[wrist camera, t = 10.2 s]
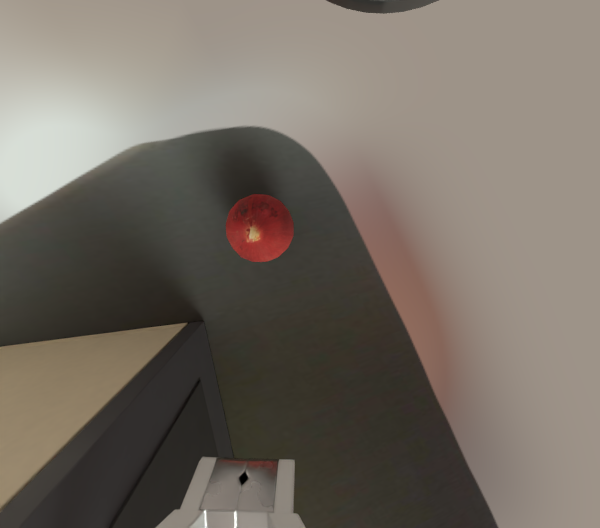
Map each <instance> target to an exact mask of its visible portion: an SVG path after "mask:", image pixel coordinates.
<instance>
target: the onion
mask: <svg viewBox="0 0 600 528" xmlns="http://www.w3.org/2000/svg"><path fill="white" fill-rule="evenodd" d="M293 224H294V223H293V220H292V218H291V215H290V213H289V211H288V209H287V208H286V207H285V206H284V205H283V203H282V202H281V201H279V200H277V199H275V198H273V197H271V196H269V195H262V194H253V195H250V196H248V197H245V198H243V199H240V200H239V201H238V202H237V203H236V204H235V205H234V206H233V208H232V209H231V210H230V211H229V215H228V218H227V222H226V233H227V238H228V240H229V242H230V244H231V246H232V248H233V249H234V250H235V251H236V252H237V253H238V254H239V255H240V256H241V257H242V258H244V259H247V260H250V261H252V262H267V261H269V260H272V259H274V258H277V257H279V256H280V255H281V254H282V253H283V252H284V251H285V250H286V249H287V248H288V247H289V245H290V242H291V240H292V238H293Z"/></svg>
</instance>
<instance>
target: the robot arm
mask: <svg viewBox="0 0 600 528" xmlns="http://www.w3.org/2000/svg"><path fill="white" fill-rule="evenodd" d="M294 471H295V461H294V460H285V459H239V458H223V457H202V458H201V460H200V461H199V463H198V466H197V468H196V471H195V473H194V476H193V478H192V480H191V483H190V485H189V488H188V490H187V493H186V495H185V498H184V500H183V503H182V505H181V508H180V509H175V510H174V511H173V512H172V513H170V514H169V515H168V516H167V517H166V518H165V519H164V520H163V521H162V522H161V523H160V524H159V525H158V526H157V527H156V528H305V526H304V524H303V522H302V520H301V518H300V517H299V515H298V514H296V513H293V509H294Z"/></svg>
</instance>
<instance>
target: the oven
mask: <svg viewBox="0 0 600 528" xmlns="http://www.w3.org/2000/svg"><path fill="white" fill-rule="evenodd" d="M187 325H188V323H180V324H172V325H165V326H157V327H149V328H141V329H134V330H126V331H118V332H110V333H103V334H95V335H87V336H79V337H72V338H64V339H56V340H48V341H41V342H33V343H25V344H17V345H10V346H2V347H0V512H1V511H2V510H3V509H4V508H5V507H6V506H7V505H8V504H9V503H10V502H11V501H12V500H13V499H14V498H15V497H16V496H17V495H18V494H19V493H20V492H21V491H22V490H23V489H24V488H25V487H26V486H27V485H28V484H29V483H30V482H31V481H32V480H33V479H34V478H35V477H36V476H37V475H38V474H39V473H40V472H41V471H42V470H43V469H44V468H45V467H46V466H47V465H48V464H49V463H50V462H51V461H52V460H53V459H54V458H55V457H56V456H57V455H58V454H59V453H60V452H61V451H62V450H63V449H64V448H65V447H66V446H67V445H68V444H69V443H70V442H71V441H72V440H73V439H74V438H75V437H76V436H77V435H78V434H79V433H80V432H81V431H82V430H83V429H84V428H85V427H86V426H87V425H88V424H89V423H90V422H91V421H92V420H93V419H94V418H95V417H96V416H97V415H98V414H99V413H100V412H101V411H102V410H103V409H104V408H105V407H106V406H107V405H108V404H109V403H110V402H111V401H112V400H113V399H114V398H115V397H116V396H117V395H118V394H119V393H120V392H121V391H122V390H123V389H124V388H125V387H126V386H127V385H128V384H129V383H130V382H131V381H132V380H133V379H134V378H135V377H136V376H137V375H138V374H139V373H140V372H141V371H142V370H143V369H144V368H145V367H146V366H147V365H148V364H149V363H150V362H151V361H152V360H153V359H154V358H155V357H156V356H157V355H158V354H159V353H160V352H161V351H162V350H163V349H164V348H165V347H166V346H167V345H168V344H169V343H170V342H171V341H172V340H173V339H174V338H175V337H176V336H177V335H178V334H179V333H180V332H181V331H182V330H183V329H184V328H185V327H186V326H187Z"/></svg>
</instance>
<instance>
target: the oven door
mask: <svg viewBox="0 0 600 528" xmlns="http://www.w3.org/2000/svg"><path fill="white" fill-rule="evenodd" d="M202 457H223V458H234V456H233V452H232V447H231V442H230V438H229V433H228V429H227V424H226V420H225V415H224V410H223V406H222V401H221V397H220V392H219V388H218V383H217V379H216V374H215V369H214V365H213V360H212V356H211V351H210V347H209V342H208V337H207V333H206V328H205V324H204V321H199V322H192V323H189V324H188V325H187V326H186V327H185V328H184V329H183V330H182V331H181V332H180V333H179V334H178V335H177V336H176V337H175V338H174V339H173V340H172V341H171V342H170V343H169V344H168V345H167V346H166V347H165V348H164V349H163V350H162V351H161V352H160V353H159V354H158V355H157V356H156V357H155V358H154V359H153V360H152V361H151V362H150V363H149V364H148V365H147V366H146V367H145V368H144V369H143V370H142V371H141V372H140V373H139V374H138V375H137V376H136V377H135V378H134V379H133V380H132V381H131V382H130V383H129V384H128V385H127V386H126V387H125V388H124V389H123V390H122V391H121V392H120V393H119V394H118V395H117V396H116V397H115V398H114V399H113V400H112V401H111V402H110V403H109V404H108V405H107V406H106V407H105V408H104V409H103V410H102V411H101V412H100V413H99V414H98V415H97V416H96V417H95V418H94V419H93V420H92V421H91V422H90V423H89V424H88V425H87V426H86V427H85V428H84V429H83V430H82V431H81V432H80V433H79V434H78V435H77V436H76V437H75V438H74V439H73V440H72V441H71V442H70V443H69V444H68V445H67V446H66V447H65V448H64V449H63V450H62V451H61V452H60V453H59V454H58V455H57V456H56V457H55V458H54V459H53V460H52V461H51V462H50V463H49V464H48V465H47V466H46V467H45V468H44V469H43V470H42V471H41V472H40V473H39V474H38V475H37V476H36V477H35V478H34V479H33V480H32V481H31V482H30V483H29V484H28V485H27V486H26V487H25V488H24V489H23V490H22V491H21V492H20V493H19V494H18V495H17V496H16V497H15V498H14V499H13V500H12V501H11V502H10V503H9V504H8V505H7V506H6V507H5V508H4V509H3V510H2V511H1V512H0V528H156V527H157V526H158V525H159V524H160V523H161V522H162V521H163V520H164V519H165V518H166V517H167V516H168V515H169V514H170V513H172V512H173V511H174V510H175V509H180V508H181V505H182V503H183V500H184V498H185V495H186V493H187V490H188V488H189V485H190V483H191V480H192V478H193V476H194V473H195V471H196V468H197V466H198V463H199V461H200V460H201V458H202Z"/></svg>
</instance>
